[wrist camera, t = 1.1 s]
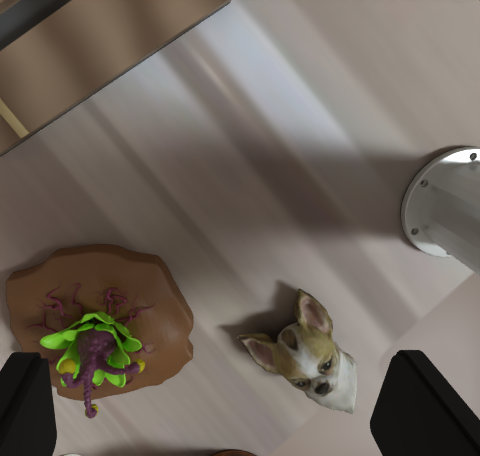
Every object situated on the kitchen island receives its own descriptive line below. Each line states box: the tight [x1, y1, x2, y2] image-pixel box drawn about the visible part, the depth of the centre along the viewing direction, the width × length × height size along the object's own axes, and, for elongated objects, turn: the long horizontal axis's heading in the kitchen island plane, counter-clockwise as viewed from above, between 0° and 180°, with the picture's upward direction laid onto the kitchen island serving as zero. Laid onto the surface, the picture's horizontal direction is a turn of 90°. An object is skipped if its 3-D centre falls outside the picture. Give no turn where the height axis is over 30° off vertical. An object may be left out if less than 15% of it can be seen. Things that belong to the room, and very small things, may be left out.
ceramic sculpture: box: [237, 289, 357, 414], centre depth 43 cm, size 11×9×15 cm
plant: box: [6, 244, 193, 418], centre depth 38 cm, size 20×20×11 cm
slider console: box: [0, 0, 231, 157], centre depth 29 cm, size 25×14×3 cm, turn 120°
